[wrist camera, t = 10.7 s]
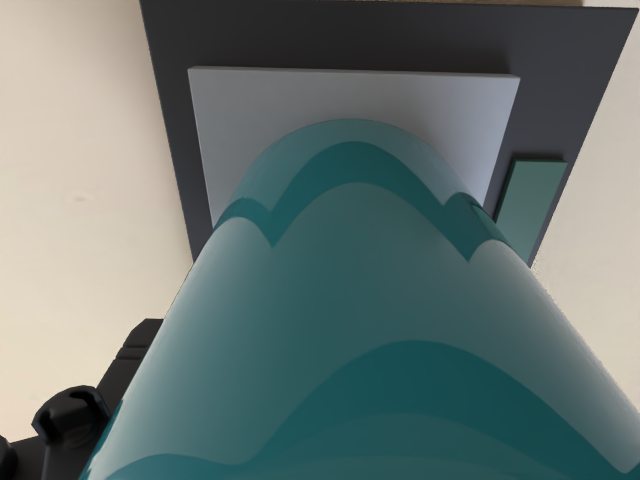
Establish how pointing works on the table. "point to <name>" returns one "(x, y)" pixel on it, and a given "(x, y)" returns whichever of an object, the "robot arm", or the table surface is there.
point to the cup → (364, 337)
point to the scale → (385, 90)
